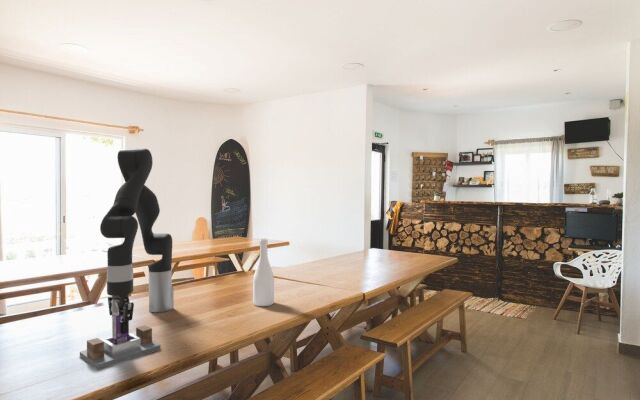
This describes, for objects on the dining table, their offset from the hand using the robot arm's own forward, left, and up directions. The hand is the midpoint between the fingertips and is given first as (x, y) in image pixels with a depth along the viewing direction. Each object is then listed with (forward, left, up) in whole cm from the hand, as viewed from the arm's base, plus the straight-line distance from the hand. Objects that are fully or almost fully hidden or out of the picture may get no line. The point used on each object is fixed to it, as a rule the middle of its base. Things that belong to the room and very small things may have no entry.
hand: (120, 331), depth 124 cm
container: (0, 0, -5) cm, 5 cm away
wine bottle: (-66, -6, -7) cm, 67 cm away
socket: (0, 0, -5) cm, 5 cm away
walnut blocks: (0, 0, -5) cm, 5 cm away
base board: (0, 0, -7) cm, 7 cm away
